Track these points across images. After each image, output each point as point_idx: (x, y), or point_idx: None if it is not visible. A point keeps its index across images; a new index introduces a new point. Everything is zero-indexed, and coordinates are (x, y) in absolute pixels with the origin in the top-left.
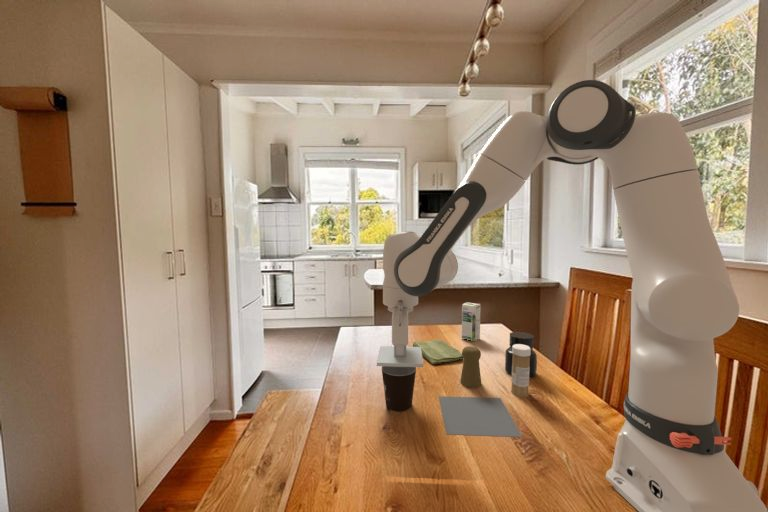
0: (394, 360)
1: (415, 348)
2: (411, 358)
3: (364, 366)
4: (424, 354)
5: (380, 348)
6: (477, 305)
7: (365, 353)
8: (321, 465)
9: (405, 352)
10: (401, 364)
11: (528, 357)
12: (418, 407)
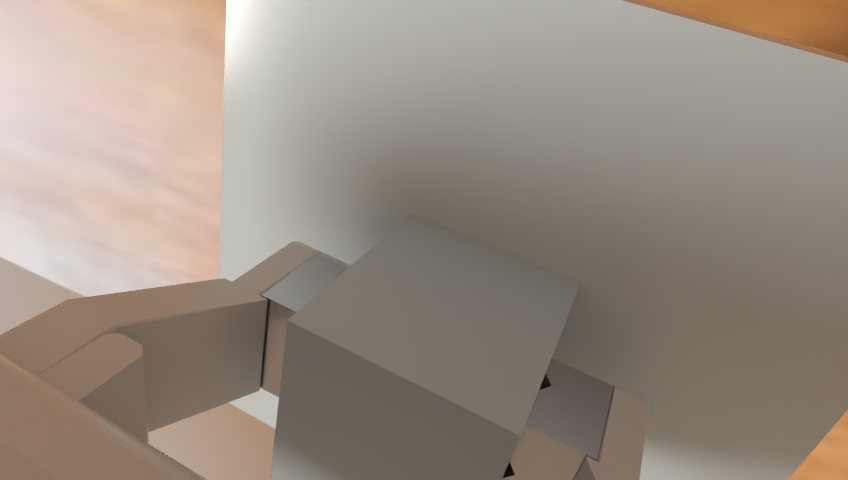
0: (659, 471)
1: (284, 13)
2: (678, 237)
3: (142, 198)
4: None
5: (272, 420)
6: None
7: (6, 148)
8: None
9: (559, 327)
10: (807, 435)
11: None
12: (694, 11)
